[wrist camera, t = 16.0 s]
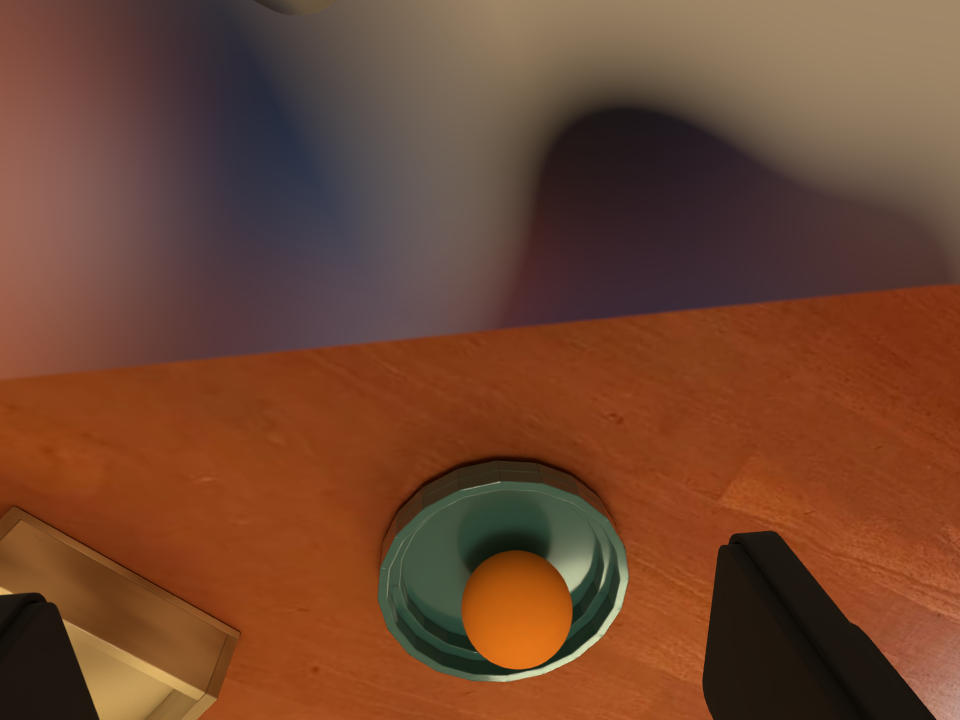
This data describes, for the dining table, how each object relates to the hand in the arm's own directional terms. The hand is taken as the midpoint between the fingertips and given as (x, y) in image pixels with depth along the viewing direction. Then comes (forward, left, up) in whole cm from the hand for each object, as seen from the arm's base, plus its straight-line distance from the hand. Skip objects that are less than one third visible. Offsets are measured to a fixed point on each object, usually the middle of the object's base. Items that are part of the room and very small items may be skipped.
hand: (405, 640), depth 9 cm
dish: (+17, -12, -26) cm, 34 cm away
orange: (+18, -12, -22) cm, 31 cm away
